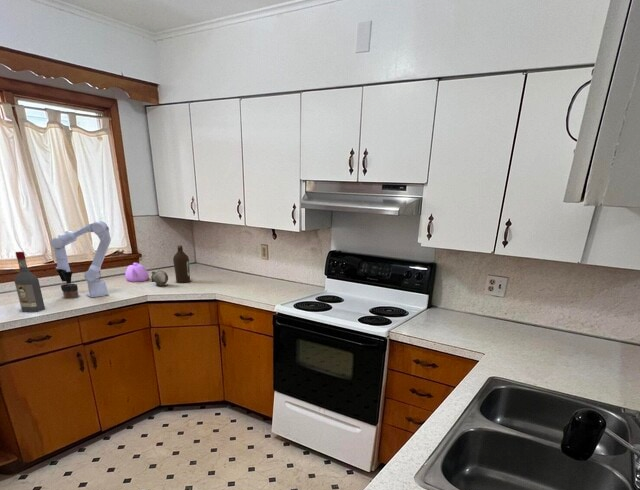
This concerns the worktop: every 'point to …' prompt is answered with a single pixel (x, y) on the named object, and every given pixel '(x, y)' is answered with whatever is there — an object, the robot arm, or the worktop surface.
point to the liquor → (28, 287)
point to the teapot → (136, 273)
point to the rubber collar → (69, 287)
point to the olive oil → (181, 266)
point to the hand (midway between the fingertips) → (66, 282)
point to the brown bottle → (71, 294)
